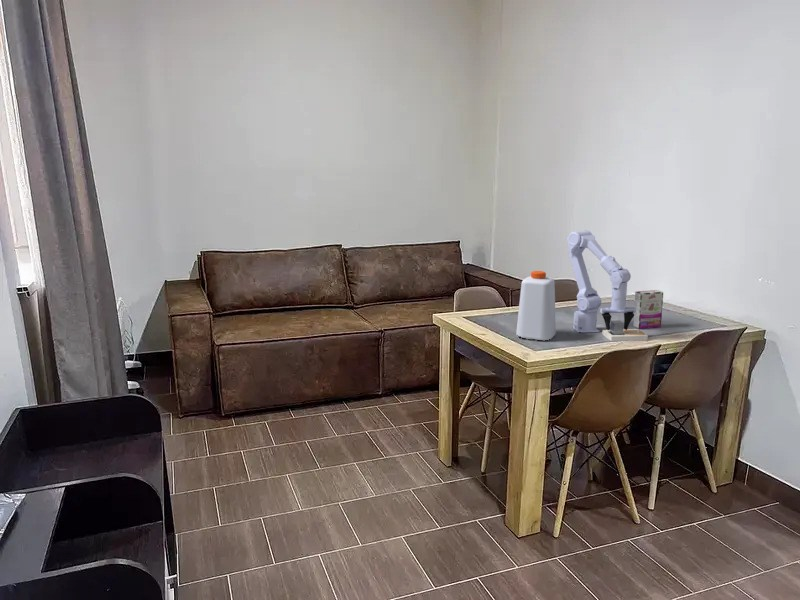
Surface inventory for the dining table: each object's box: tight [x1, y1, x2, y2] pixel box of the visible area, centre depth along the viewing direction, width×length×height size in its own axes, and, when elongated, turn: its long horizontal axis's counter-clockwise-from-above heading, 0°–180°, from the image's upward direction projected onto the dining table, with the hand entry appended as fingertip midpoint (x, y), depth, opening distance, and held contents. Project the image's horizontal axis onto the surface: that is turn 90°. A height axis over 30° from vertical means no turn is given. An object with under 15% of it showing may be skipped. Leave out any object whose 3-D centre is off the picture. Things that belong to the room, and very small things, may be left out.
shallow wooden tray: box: [601, 328, 649, 342], centre depth 254 cm, size 15×10×2 cm, turn 92°
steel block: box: [610, 319, 624, 335], centre depth 253 cm, size 4×4×7 cm
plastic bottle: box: [515, 270, 557, 341], centre depth 255 cm, size 15×15×28 cm
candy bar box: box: [632, 289, 664, 330], centre depth 268 cm, size 11×5×16 cm, turn 101°
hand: (616, 329), depth 253 cm, fingers open, 7 cm apart
